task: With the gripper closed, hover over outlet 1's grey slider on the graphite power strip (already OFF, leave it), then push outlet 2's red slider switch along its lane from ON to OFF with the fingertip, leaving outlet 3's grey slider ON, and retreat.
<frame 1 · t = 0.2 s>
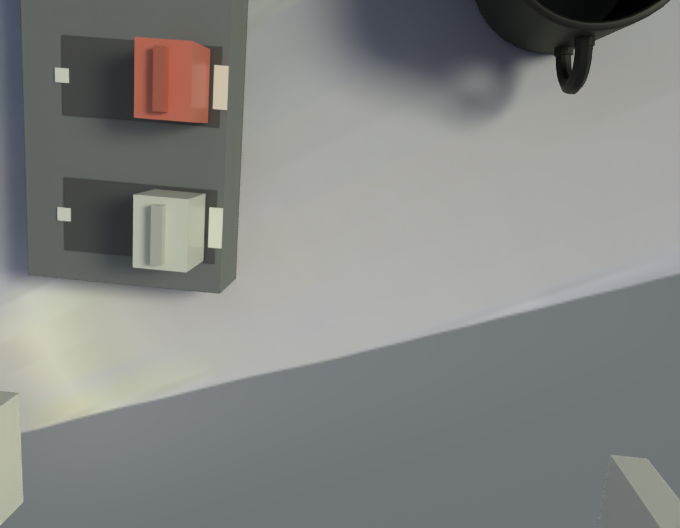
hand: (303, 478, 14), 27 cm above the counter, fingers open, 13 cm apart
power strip: (150, 85, 39), on the counter
slider 3: (168, 230, 35), point 6 cm above the counter, slide at 0.0 cm
slider 2: (171, 81, 33), point 6 cm above the counter, slide at 0.0 cm
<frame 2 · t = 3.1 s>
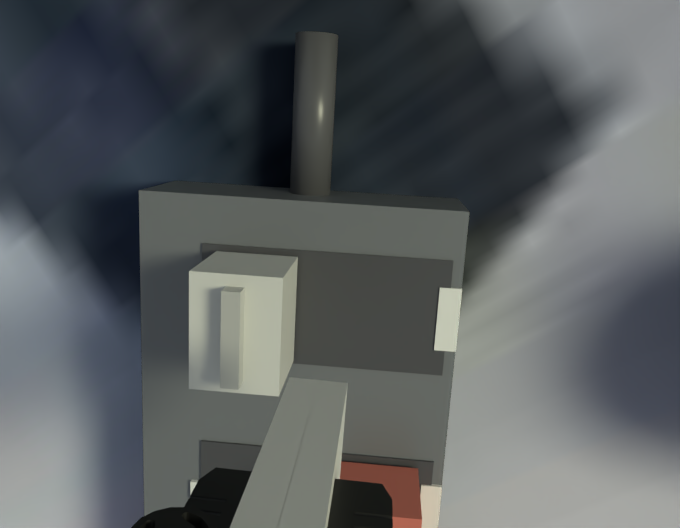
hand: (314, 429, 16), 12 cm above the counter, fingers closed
slider 1: (243, 322, 21), point 6 cm above the counter, slide at 5.0 cm
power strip: (302, 447, 29), on the counter
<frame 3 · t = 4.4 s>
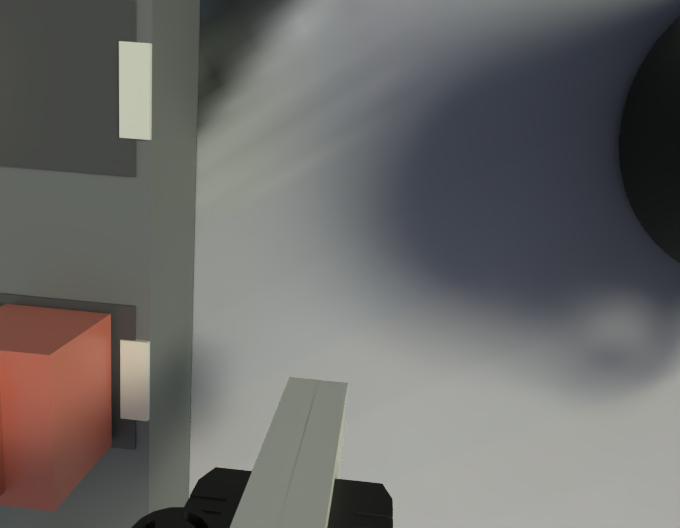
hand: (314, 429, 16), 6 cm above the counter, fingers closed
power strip: (26, 318, 22), on the counter
slider 2: (21, 404, 16), point 6 cm above the counter, slide at 0.0 cm
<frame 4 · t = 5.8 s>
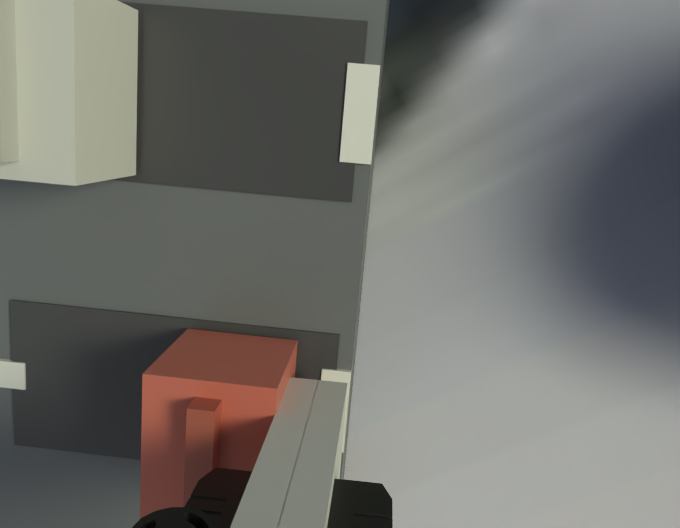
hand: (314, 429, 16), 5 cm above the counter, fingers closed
slider 1: (37, 84, 14), point 6 cm above the counter, slide at 5.0 cm
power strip: (182, 340, 22), on the counter
slider 2: (220, 436, 15), point 6 cm above the counter, slide at 0.5 cm, touching gripper
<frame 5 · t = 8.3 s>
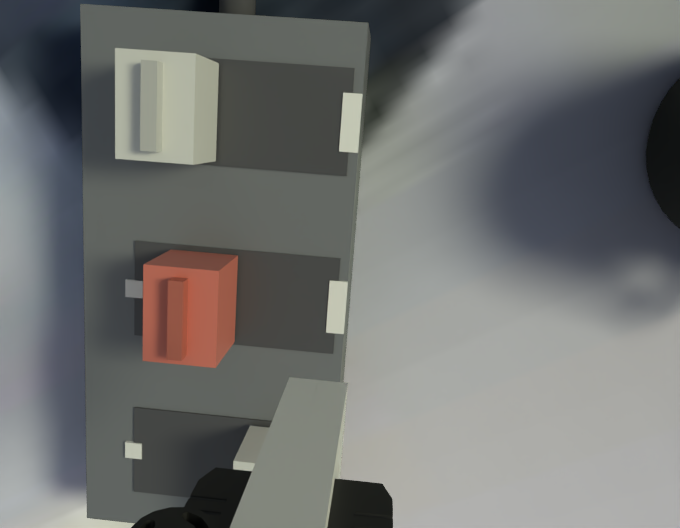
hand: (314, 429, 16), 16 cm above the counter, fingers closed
slider 1: (166, 108, 24), point 6 cm above the counter, slide at 5.0 cm
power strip: (234, 275, 32), on the counter
slider 3: (272, 490, 27), point 6 cm above the counter, slide at 0.0 cm
slider 2: (190, 307, 26), point 6 cm above the counter, slide at 3.9 cm
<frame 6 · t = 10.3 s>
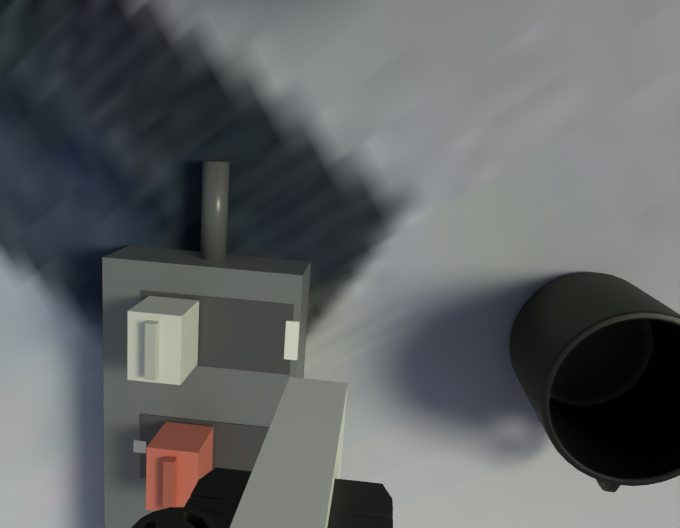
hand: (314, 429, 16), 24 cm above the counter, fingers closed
mug: (581, 360, 40), on the counter
slider 1: (162, 340, 35), point 6 cm above the counter, slide at 5.0 cm
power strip: (213, 422, 43), on the counter
slider 2: (179, 469, 37), point 6 cm above the counter, slide at 3.9 cm
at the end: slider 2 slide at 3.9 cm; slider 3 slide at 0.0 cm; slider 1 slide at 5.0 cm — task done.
